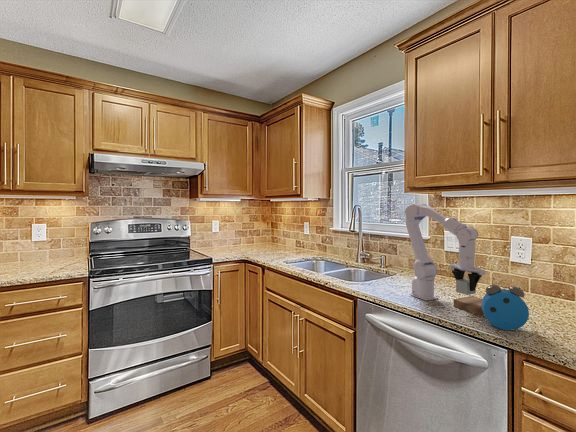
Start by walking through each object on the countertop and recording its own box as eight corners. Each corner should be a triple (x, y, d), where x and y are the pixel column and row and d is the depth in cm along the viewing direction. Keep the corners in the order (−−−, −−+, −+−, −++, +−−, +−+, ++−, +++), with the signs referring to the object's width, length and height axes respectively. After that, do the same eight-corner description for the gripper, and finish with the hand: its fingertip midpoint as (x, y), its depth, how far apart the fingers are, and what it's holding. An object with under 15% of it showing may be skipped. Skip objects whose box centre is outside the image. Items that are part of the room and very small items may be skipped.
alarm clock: (523, 327, 110) (525, 285, 109) (529, 334, 104) (530, 290, 103) (480, 321, 115) (481, 281, 114) (483, 328, 110) (484, 286, 109)
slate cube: (456, 291, 130) (456, 280, 130) (464, 290, 132) (464, 278, 132) (466, 295, 125) (467, 282, 125) (475, 293, 127) (475, 281, 127)
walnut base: (453, 306, 132) (453, 299, 132) (472, 302, 137) (472, 295, 137) (481, 315, 121) (481, 308, 121) (500, 311, 126) (500, 304, 126)
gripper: (444, 254, 133) (444, 285, 134) (476, 259, 120) (476, 294, 120) (456, 253, 136) (455, 283, 136) (489, 258, 122) (488, 292, 123)
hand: (466, 288), depth 128 cm, fingers closed on slate cube, 5 cm apart
